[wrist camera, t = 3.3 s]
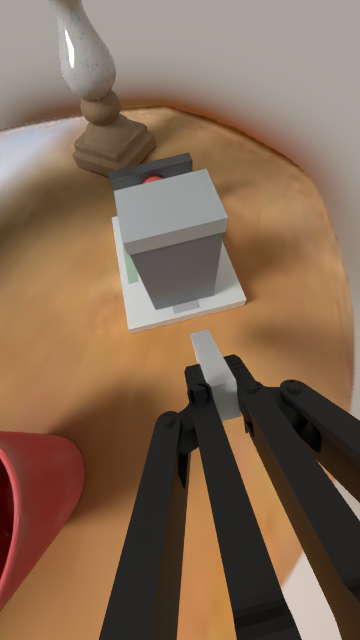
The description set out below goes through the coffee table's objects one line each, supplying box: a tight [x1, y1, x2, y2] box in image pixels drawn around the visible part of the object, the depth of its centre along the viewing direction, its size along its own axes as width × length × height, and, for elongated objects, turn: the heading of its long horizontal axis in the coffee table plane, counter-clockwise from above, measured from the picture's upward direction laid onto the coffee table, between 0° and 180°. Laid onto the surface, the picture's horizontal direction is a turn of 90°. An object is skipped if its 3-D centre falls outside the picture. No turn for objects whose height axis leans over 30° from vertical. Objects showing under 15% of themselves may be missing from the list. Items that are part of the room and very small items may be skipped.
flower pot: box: [0, 431, 85, 611], centre depth 15 cm, size 11×11×10 cm
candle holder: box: [49, 0, 156, 177], centre depth 26 cm, size 11×11×24 cm
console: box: [108, 153, 246, 334], centre depth 24 cm, size 18×14×8 cm
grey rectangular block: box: [114, 169, 228, 310], centre depth 19 cm, size 5×7×11 cm
